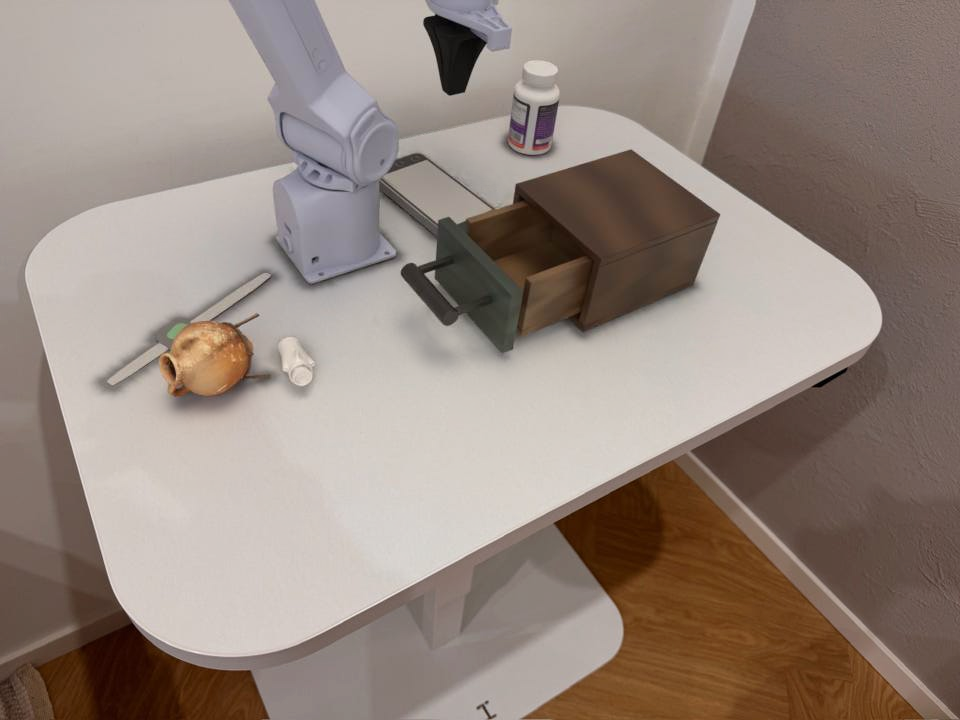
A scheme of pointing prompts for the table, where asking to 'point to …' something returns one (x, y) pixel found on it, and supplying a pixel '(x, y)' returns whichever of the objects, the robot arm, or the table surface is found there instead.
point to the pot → (208, 358)
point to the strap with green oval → (172, 329)
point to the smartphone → (431, 192)
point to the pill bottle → (534, 108)
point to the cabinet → (625, 230)
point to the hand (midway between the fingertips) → (453, 91)
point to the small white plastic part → (295, 361)
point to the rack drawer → (504, 273)
